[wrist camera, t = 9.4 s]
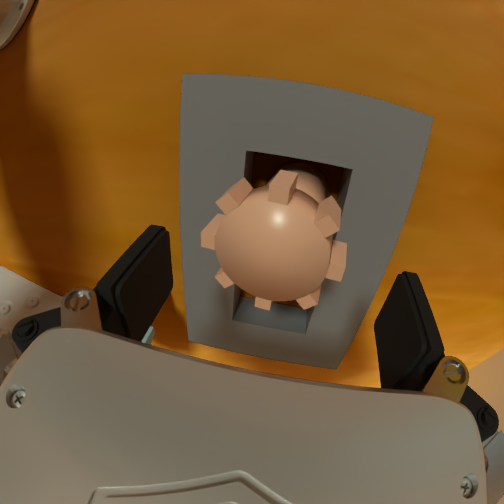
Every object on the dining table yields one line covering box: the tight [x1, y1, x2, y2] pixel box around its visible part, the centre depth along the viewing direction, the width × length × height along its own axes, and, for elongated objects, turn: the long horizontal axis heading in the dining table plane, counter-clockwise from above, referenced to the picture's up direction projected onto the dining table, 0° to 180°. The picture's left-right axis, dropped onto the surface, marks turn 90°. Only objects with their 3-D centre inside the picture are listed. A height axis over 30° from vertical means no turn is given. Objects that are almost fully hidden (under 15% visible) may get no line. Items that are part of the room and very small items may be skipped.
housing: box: [179, 74, 434, 369], centre depth 20 cm, size 22×14×3 cm, turn 174°
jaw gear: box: [201, 163, 347, 311], centre depth 16 cm, size 7×7×8 cm
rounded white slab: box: [0, 266, 63, 338], centre depth 26 cm, size 29×8×18 cm, turn 80°
